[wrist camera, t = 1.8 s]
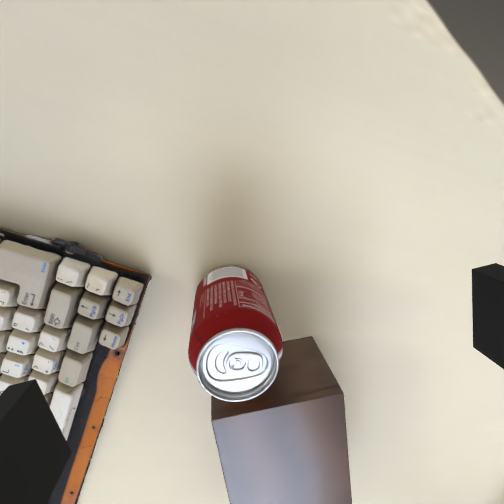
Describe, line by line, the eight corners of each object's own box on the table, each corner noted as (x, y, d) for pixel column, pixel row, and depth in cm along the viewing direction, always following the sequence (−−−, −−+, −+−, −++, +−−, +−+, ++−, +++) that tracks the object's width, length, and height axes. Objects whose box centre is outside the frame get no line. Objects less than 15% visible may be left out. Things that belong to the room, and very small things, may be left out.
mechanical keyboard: (64, 545, 40) (51, 580, 37) (-116, 521, 36) (-148, 556, 33) (154, 264, 32) (147, 276, 28) (-67, 196, 28) (-103, 200, 25)
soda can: (198, 260, 32) (190, 317, 20) (266, 266, 33) (295, 324, 21) (193, 323, 34) (182, 408, 22) (257, 327, 35) (280, 410, 23)
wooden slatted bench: (241, 499, 41) (249, 590, 32) (211, 355, 35) (211, 420, 26) (327, 480, 42) (356, 564, 33) (312, 336, 36) (343, 393, 27)
